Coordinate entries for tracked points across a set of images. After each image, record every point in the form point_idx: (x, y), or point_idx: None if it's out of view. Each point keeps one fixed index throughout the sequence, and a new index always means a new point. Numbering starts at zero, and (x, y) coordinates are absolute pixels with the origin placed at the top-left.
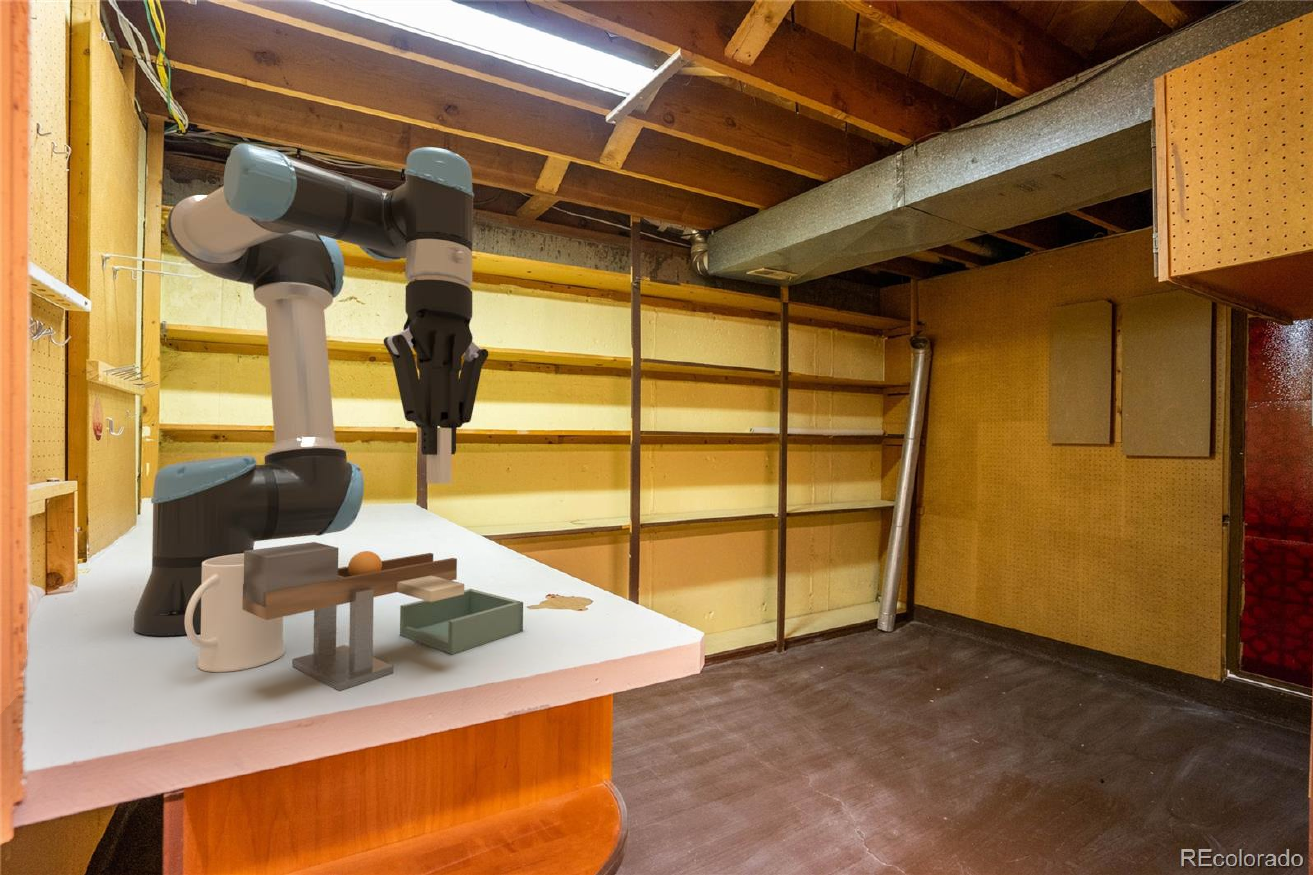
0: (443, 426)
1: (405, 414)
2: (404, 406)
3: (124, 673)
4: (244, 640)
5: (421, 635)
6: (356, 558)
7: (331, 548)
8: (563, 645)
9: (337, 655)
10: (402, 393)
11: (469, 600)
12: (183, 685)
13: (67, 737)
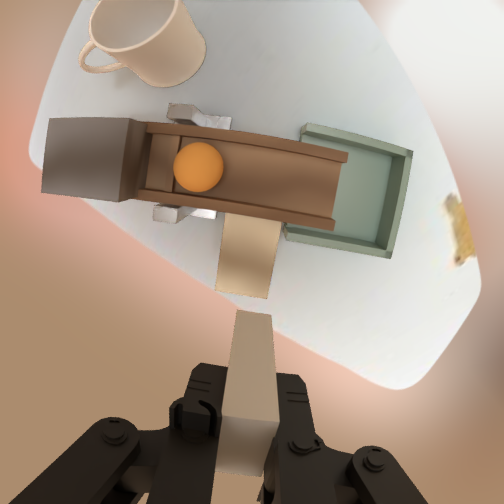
0: (269, 455)
1: (87, 437)
2: (67, 462)
3: None
4: (142, 76)
5: None
6: (176, 170)
7: (109, 199)
8: (354, 313)
9: None
10: (31, 502)
11: (399, 156)
12: (111, 83)
13: (44, 125)
